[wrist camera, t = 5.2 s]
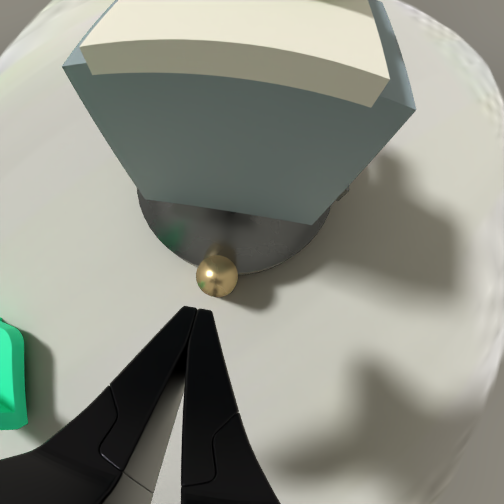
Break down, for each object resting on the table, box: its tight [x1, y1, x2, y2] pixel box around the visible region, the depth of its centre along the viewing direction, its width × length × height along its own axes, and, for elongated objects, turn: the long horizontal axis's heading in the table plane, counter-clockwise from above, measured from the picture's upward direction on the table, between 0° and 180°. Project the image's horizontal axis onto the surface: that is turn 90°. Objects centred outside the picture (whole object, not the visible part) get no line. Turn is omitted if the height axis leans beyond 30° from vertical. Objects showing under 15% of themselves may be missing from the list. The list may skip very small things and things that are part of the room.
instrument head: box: [62, 0, 416, 225], centre depth 10 cm, size 10×10×13 cm
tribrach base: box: [137, 186, 349, 297], centre depth 17 cm, size 13×13×4 cm
